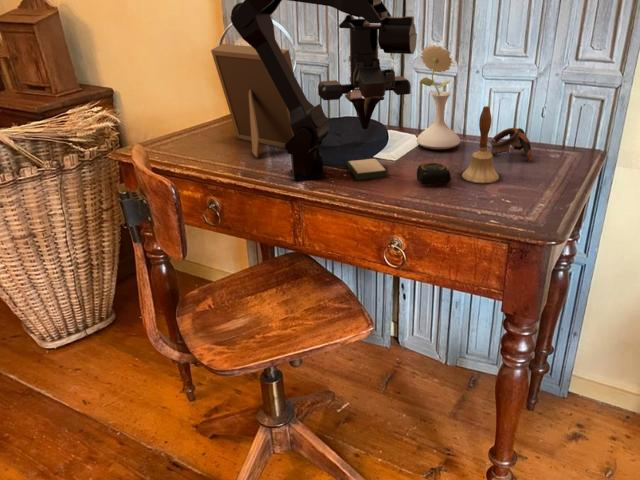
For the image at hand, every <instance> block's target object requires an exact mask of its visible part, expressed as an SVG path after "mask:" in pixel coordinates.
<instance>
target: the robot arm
mask: <svg viewBox="0 0 640 480" xmlns="http://www.w3.org/2000/svg"><path fill="white" fill-rule="evenodd" d="M282 1H283V0H243V1H242V2H238V3H236V4H235V5H234V6H233V7H232V9H231V13H230V16H229V17H230V22H231V25H232V26H233V28H234V29H235V31H236V32H237V33H238V34H239V36H240V37H241V38H242V40H243V41H245V42H246V43H247V44H248V46H252V47H253V48H254V49H255V50H256V52H257V53H258V55H259V57H260V59H261V61H262V63H263V64H264V66H265V68H266V70H267V72H268V74H269V75H270V77H271V79H272V81H273V83H274V85H275V87H276V88H277V90H278V92H279V94H280V96H281V98H282V99H283V101H284V103H285V105H286V107H287V109H288V111H289V116H290V125H291V128H292V131H293V134H294V136H293V137H292V138H291V139H290V140H289V141H288V142H287V143H286V144H285V147H286V148H285V150H286V152H287V154H288V155H290V161H291V162H290V163H291V169H290V174H291V176H292V177H293V180H294V181H305V180H314V179H322V178H323V173H324V166H323V165H324V164H323V163H324V162H323V155H322V154H321V151H320V150H321V149H320V148H319V146H321V145H322V144H323V140H324V139H325V138H326V137H327V136H328V134H329V131H330V125H329V123H328V122H329V121H330V119H329V117H327V116H326V114H325V112H324V110H323V107H322V105H321V104H320V103H318V104H316V105H313V103H311V102H310V101H309V100H308V98H307V97H306V95H305V93H304V91H303V89H302V87H301V86H300V85H301V84H300V83H299V82H298V79H297V78H296V76H295V73H294V74H293V72H294V71H293V72H292V70H291V68H290V66H289V65H288V63H287V61H286V59H285V57H284V55H283V53H282V51H281V50H280V49H281V48H280V46H279V44H278V42H277V39H276V35H275V26H274V22H273V19H272V17H271V16H272V15H273V14H274V13H275V11H276V10H277V9H278V7H279V6H280V5H281V3H282ZM288 1H289V2H290V1H291V2H296V3H305V4H311V5H319V6H325V7H326V6H327V7H330V8H334V9H335V10H337V11H339V12H341V13H344V14H346V15H345V17H344V19H343V20H342V22H340V23H339V24H338V27H339V29H348V31H349V57H348V59H349V60H348V62H349V71H350V73H349V74H350V76H349V83H346V84H344V83H343V84H341V83H340V82H339V81H338V80H337V79H336V80H335V79H334V80H322V81H319V82H318V85H317V93H318V96H319V97H320V98H321V99H322V100H323V101H338V100H340V99H341V98H342V97H343V95H344V98H345V99H346V100H348V101H349V102H350V103H352V105H353V107H354V110H355V112H356V115H357V119H358V120H359V123H360V125H361V129H363V130H368V128H369V125H370V121H371V119H372V117H373V113H374V110H375V109H376V108H377V107H376V106H377V105H378V104H379V102H380V101H385V96H386V92H388V91H392V92H393V93H394V94H395V95H396V96H404V95H410V94H411V93H412V90H411V89H412V84H411V81H410V80H408V78H406V77H404V76H402V75H397V76H396V72H395V70H394V69H393V68H387V69H383V70H382V69H381V61H380V58H379V48H380V50H383V53H385V54H396V55H397V54H398V55H414V53H415V51H416V47H417V41H418V39H417V38H418V33H417V30H416V24H415V17H414V16H413V15H408V16H392V15H391V12H390V11H389V10H388V8H387V7H386V5H385V4H384V2H383V0H288Z"/></svg>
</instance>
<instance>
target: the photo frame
mask: <svg viewBox="0 0 640 480" xmlns="http://www.w3.org/2000/svg"><path fill="white" fill-rule="evenodd" d="M280 50H281V51H282V53H283V55H284V57H285V59H286V61H287V63H288V65H289V66H290V68H291V70H292V72H293V74H294V75H295V73H294V68H293V63H292V59H291V54H290V50H289V49H283V48H280ZM210 52H211V55H212V59H213V62H214V65H215V69H216V72H217V74H218V78H219V82H220V85H221V88H222V92H223V94H224V98H225V101H226V104H227V107H228V110H229V114H230V117H231V120H232V121H231V122H232V125H233V127H234V130H235V134H236V138H237V139H238V140H244V141H248V142H251V151H252V152H251V153H252V154H253V156H255V157H256V158H260V144H265V145H268V146H274V147H280V148H285V149H286V147H285V144H286V143H287V142H288V141H289V140H290V139H291V138H292V137H293V136H294V134H293V131H292V128H291V125H290V116H289V111H288V109H287V107H286V105H285V103H284V101H283V99H282V98H281V96H280V94H279V92H278V90H277V88H276V87H275V85H274V83H273V81H272V79H271V77H270V75H269V74H268V72H267V70H266V68H265V66H264V64H263V63H262V61H261V59H260V57H259V55H258V53H257V52H256V50H255V49H254V48H253V47H252V46H251V45H240V44H228V43H221V44H220V45H217V46H215V47H214V48H212V49H210Z"/></svg>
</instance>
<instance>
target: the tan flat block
mask: <svg viewBox="0 0 640 480" xmlns="http://www.w3.org/2000/svg"><path fill="white" fill-rule="evenodd" d="M346 163H347V169H348V170H349V172H351V174H352V175H353V176H354V178H355V179H356V181H361V180H370V179H379V178H386V177H387V170H386V168H385V167H384V166H383V165H382V164H381V163H380V162H379V161H378V160H377V159H376V158H366V159H357V160H348V161H347V162H346Z"/></svg>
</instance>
